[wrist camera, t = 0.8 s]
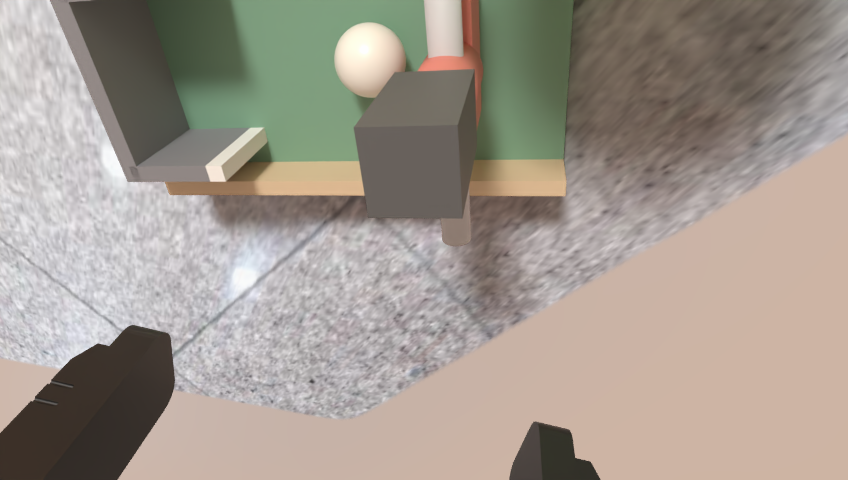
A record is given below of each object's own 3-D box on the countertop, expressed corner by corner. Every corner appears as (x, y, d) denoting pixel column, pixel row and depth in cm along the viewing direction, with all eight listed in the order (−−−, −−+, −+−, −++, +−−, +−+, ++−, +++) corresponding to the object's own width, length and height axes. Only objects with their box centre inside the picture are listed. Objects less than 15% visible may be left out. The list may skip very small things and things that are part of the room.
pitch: (580, -133, 26) (595, -141, 20) (561, 166, 34) (568, 222, 29) (113, -84, 30) (16, -78, 25) (200, 169, 39) (143, 217, 33)
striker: (487, -137, 25) (442, -170, 12) (492, 183, 34) (470, 367, 21) (421, -130, 26) (307, -153, 12) (444, 183, 35) (391, 363, 22)
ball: (408, 13, 30) (393, 28, 26) (414, 84, 32) (402, 106, 29) (340, 17, 30) (317, 33, 27) (351, 86, 33) (331, 108, 29)
